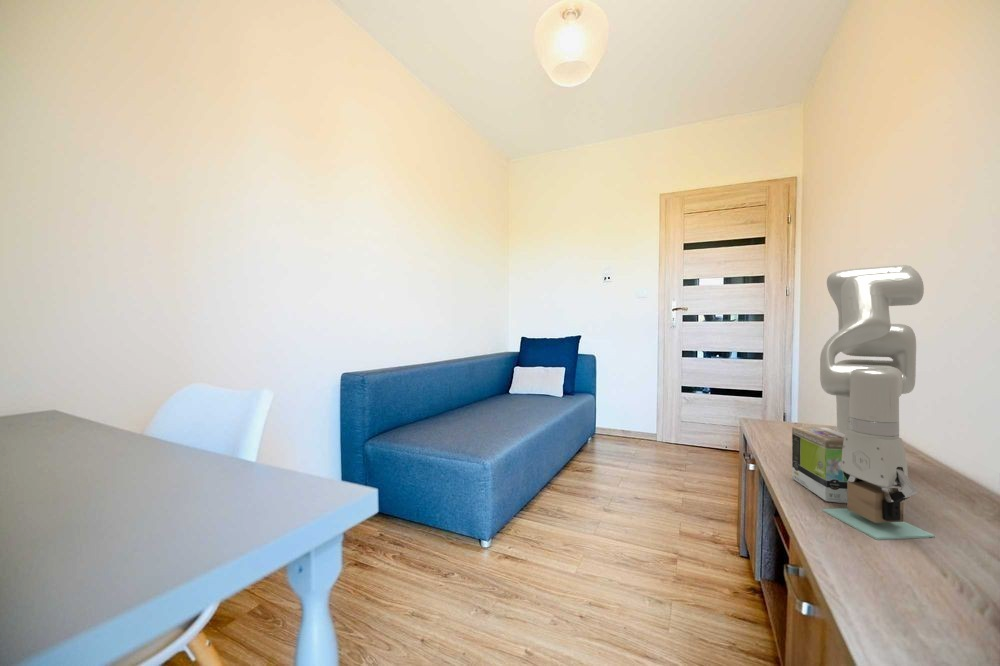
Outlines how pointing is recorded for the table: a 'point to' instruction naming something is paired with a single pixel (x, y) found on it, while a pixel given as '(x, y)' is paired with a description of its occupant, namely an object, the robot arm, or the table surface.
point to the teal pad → (878, 526)
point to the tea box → (819, 462)
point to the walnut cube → (868, 501)
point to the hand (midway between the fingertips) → (874, 511)
